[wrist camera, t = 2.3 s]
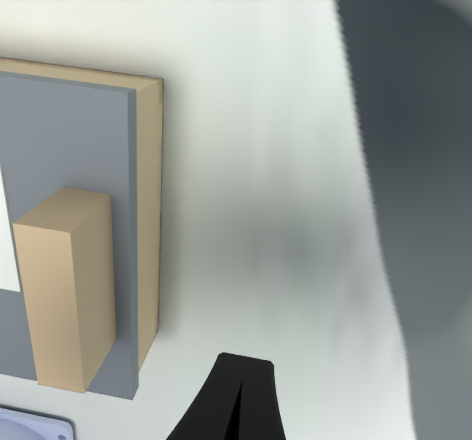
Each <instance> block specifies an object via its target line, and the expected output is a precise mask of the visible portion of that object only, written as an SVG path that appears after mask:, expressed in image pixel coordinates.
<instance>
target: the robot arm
mask: <svg viewBox="0 0 472 440" xmlns="http://www.w3.org/2000/svg"><path fill="white" fill-rule="evenodd" d="M0 440H74V439H73V430H72V426H71V425H70V424H69V423H67V422H65V421H61V420H56V419H51V418H47V417H42V416H37V415H32V414H27V413H22V412H18V411H13V410H8V409H3V408H0ZM166 440H286V438H285V434H284V430H283V425H282V421H281V417H280V412H279V406H278V401H277V395H276V388H275V378H274V365H273V364H272V362H271V361H267V360H262V359H256V358H251V357H246V356H241V355H235V354H230V353H225V352H223V353H221V354H219V355H218V357H217V359H216V362H215V364H214V366H213V368H212V370H211V372H210V374H209V376H208V378H207V379H206V381H205V383H204V385H203V386H202V388H201V390H200V391H199V393H198V395H197V396H196V398H195V399H194V401H193V402H192V404H191V405H190V407H189V408H188V410H187V411H186V413H185V414H184V416H183V417H182V419H181V420H180V421H179V423H178V424H177V426H176V427H175V428H174V430H173V431H172V432H171V434H170V435H169V436H168V438H167V439H166Z"/></svg>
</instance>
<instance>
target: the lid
mask: <svg viewBox="0 0 472 440" xmlns="http://www.w3.org/2000/svg"><path fill="white" fill-rule="evenodd" d="M0 374H5V375H10V376H15V377H20V378H25V379H30V380H35V381H38V384H39V385H44V386H49V387H54V388H59V389H64V390H69V391H74V392H79V393H84V394H85V392H86V391H89V392H94V393H99V394H104V395H109V396H114V397H119V398H124V399H129V400H133V398H134V396H135V393H136V391H137V389H138V248H137V103H136V89H133V88H126V87H118V86H111V85H104V84H96V83H89V82H81V81H74V80H66V79H59V78H51V77H44V76H36V75H29V74H21V73H14V72H6V71H0Z"/></svg>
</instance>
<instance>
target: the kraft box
mask: <svg viewBox="0 0 472 440" xmlns="http://www.w3.org/2000/svg"><path fill="white" fill-rule="evenodd" d="M0 71H6V72H14V73H21V74H29V75H36V76H44V77H51V78H59V79H66V80H74V81H81V82H89V83H96V84H104V85H111V86H118V87H126V88H133V89H136V103H137V248H138V373H139V370H140V368H141V366H142V364H143V362H144V360H145V358H146V355H147V353H148V351H149V349H150V347H151V345H152V342H153V340H154V338H155V336H156V334H157V332H158V309H159V261H160V213H161V166H162V118H163V79H162V78H154V77H147V76H139V75H131V74H124V73H116V72H109V71H101V70H93V69H86V68H78V67H70V66H63V65H55V64H47V63H40V62H32V61H25V60H17V59H9V58H2V57H0Z"/></svg>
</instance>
